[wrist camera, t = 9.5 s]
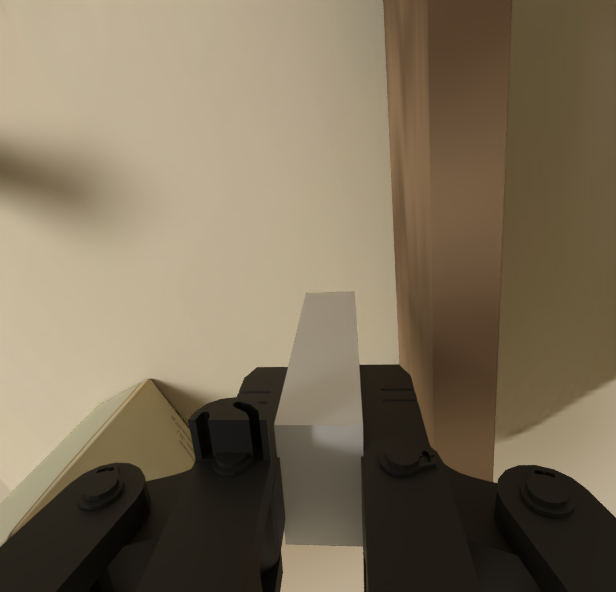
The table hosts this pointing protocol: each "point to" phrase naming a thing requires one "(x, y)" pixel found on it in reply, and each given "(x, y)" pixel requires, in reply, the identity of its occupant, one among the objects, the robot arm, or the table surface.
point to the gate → (449, 212)
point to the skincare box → (106, 451)
